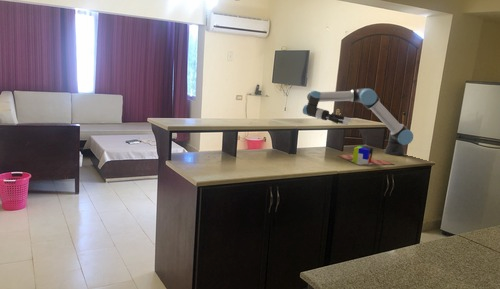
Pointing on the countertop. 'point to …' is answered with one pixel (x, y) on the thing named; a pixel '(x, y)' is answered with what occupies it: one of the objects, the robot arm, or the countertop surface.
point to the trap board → (373, 162)
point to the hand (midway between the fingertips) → (350, 122)
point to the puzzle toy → (362, 155)
